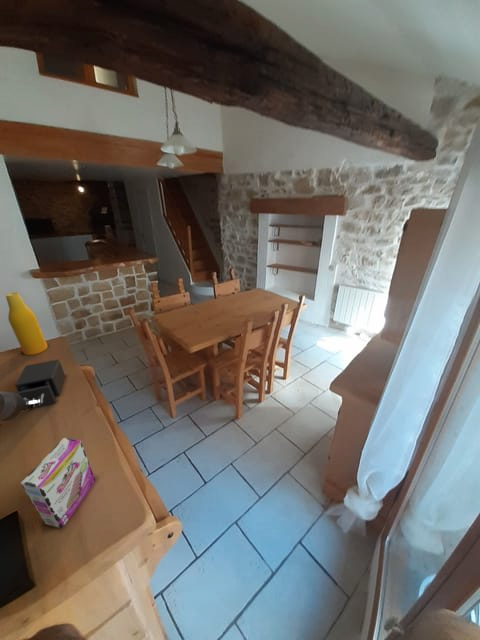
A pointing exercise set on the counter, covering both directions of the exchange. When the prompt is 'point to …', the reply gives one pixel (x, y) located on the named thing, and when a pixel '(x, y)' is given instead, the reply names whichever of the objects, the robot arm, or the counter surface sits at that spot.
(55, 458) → the candy bar box
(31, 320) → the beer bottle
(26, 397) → the drawer
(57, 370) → the dark grey cabinet
